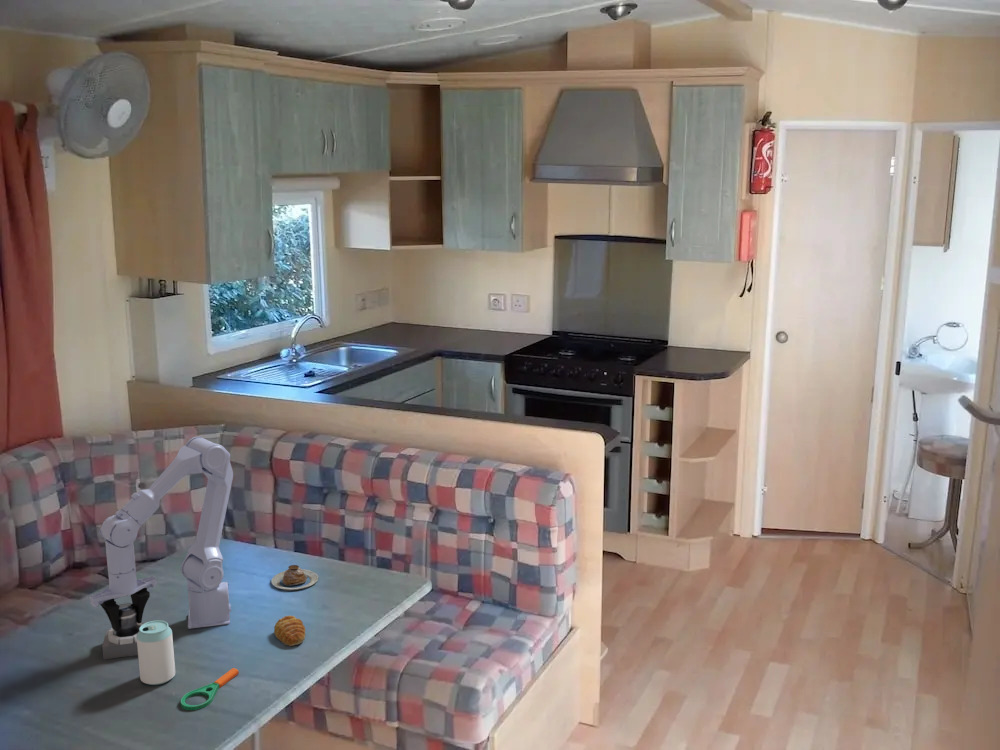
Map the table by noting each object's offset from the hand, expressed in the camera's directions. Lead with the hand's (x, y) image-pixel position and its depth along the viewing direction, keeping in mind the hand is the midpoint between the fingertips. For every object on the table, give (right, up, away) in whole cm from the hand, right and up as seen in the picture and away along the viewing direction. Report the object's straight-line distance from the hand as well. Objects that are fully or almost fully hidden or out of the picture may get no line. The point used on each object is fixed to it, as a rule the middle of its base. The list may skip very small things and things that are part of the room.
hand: (127, 625), depth 217 cm
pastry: (+36, -5, +7) cm, 36 cm away
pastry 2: (+30, +2, +35) cm, 46 cm away
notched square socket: (0, -5, +1) cm, 5 cm away
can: (+11, -8, -11) cm, 18 cm away
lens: (0, -2, 0) cm, 2 cm away
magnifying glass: (+24, -10, -16) cm, 30 cm away
